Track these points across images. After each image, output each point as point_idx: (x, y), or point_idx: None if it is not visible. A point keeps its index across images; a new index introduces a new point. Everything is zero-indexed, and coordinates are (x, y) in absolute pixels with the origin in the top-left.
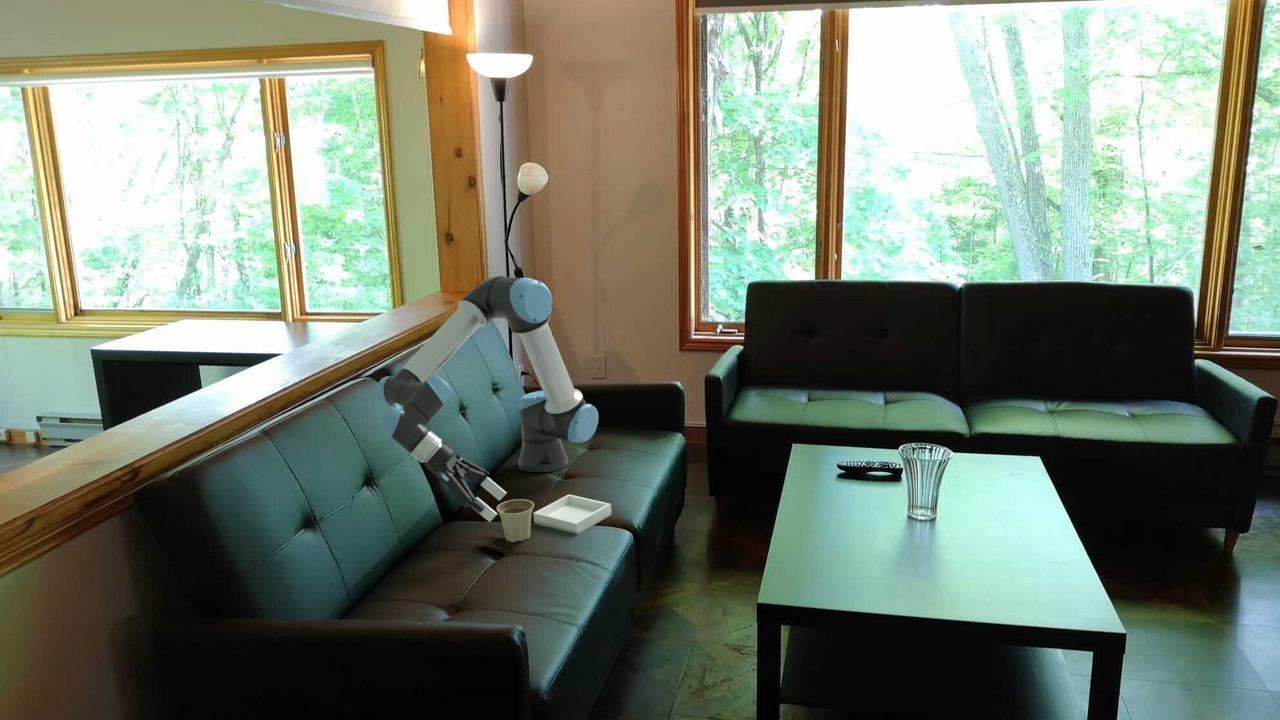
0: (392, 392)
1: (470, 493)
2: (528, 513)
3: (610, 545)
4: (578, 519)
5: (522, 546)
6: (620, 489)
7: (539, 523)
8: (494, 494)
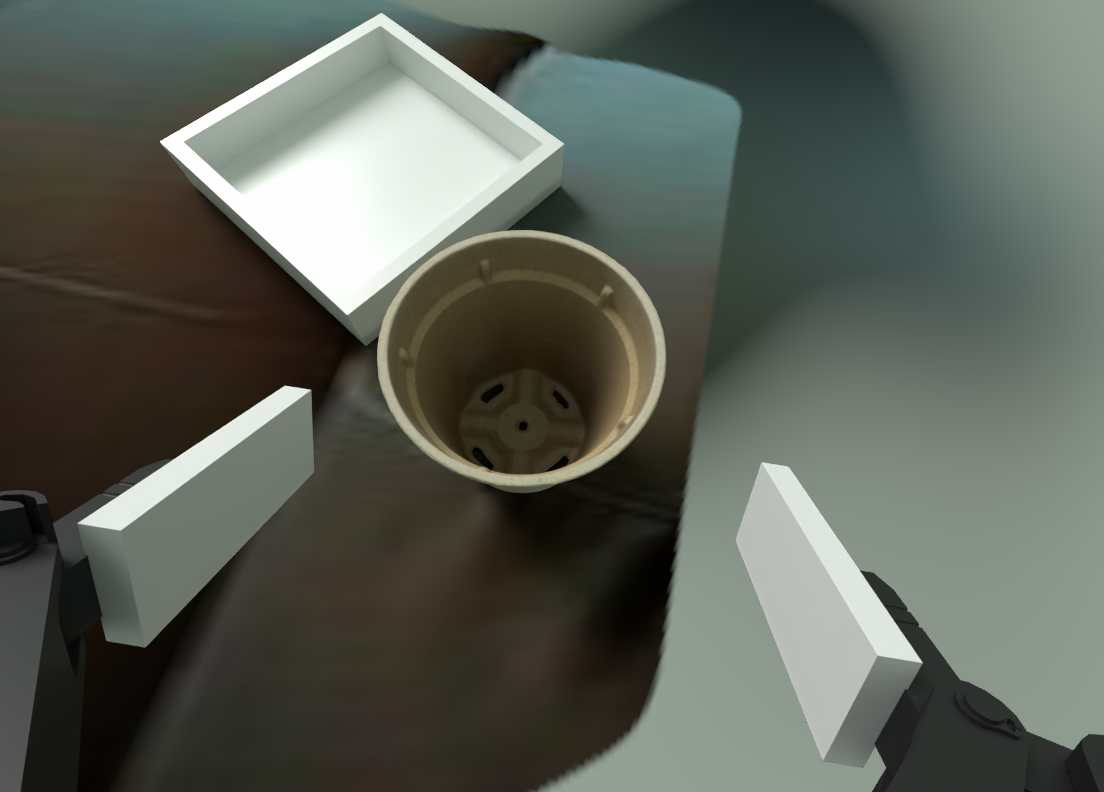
0: None
1: (993, 781)
2: (601, 282)
3: (687, 97)
4: (425, 159)
5: None
6: (134, 7)
7: None
8: (275, 497)
